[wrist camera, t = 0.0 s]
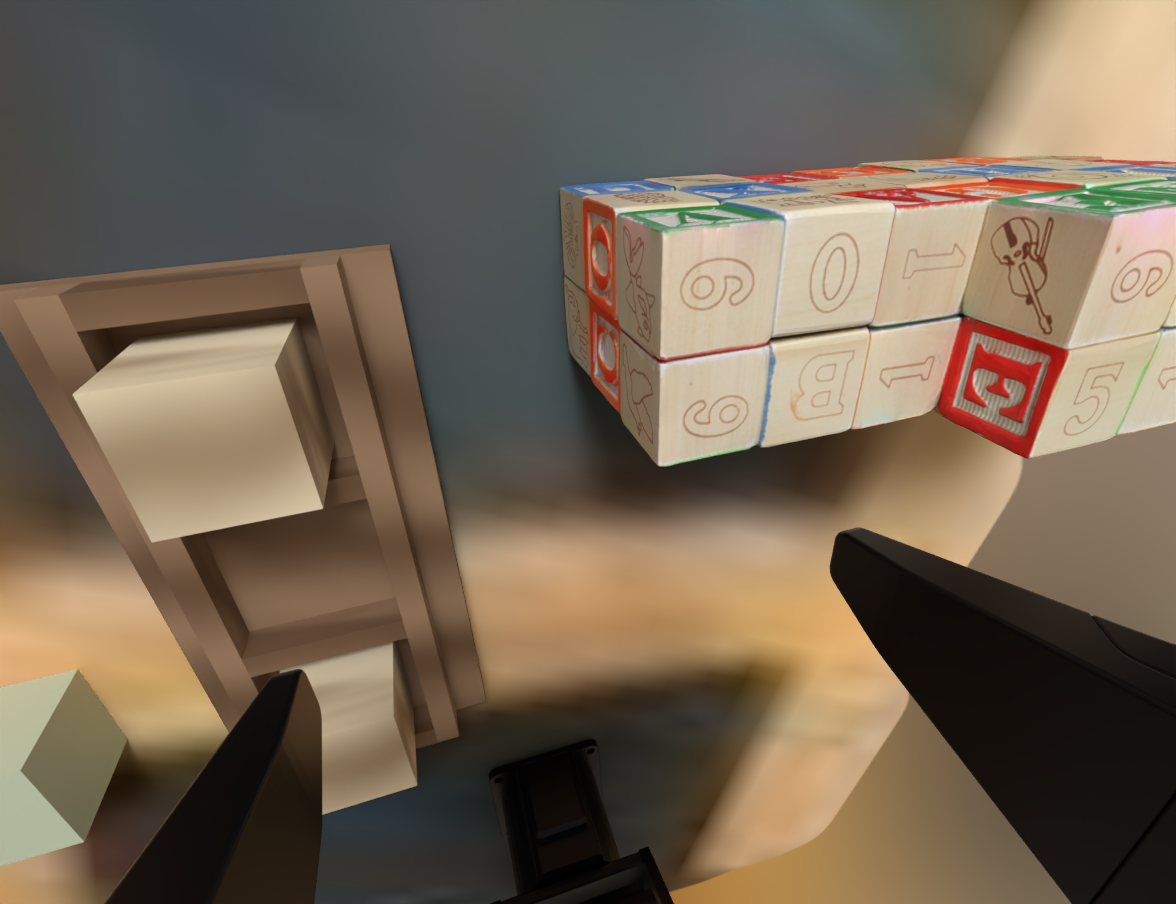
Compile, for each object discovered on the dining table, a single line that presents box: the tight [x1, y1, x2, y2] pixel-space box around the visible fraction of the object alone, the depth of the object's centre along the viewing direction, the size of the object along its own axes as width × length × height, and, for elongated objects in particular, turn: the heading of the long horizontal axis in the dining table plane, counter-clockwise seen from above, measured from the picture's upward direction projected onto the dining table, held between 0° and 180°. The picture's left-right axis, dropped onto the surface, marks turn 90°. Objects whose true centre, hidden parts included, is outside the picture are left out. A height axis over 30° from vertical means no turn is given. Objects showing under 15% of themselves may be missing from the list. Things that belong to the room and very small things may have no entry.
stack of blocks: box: [560, 156, 1176, 466], centre depth 19 cm, size 21×6×12 cm, turn 92°
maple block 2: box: [280, 641, 417, 815], centre depth 25 cm, size 4×4×4 cm
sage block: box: [0, 669, 127, 866], centre depth 22 cm, size 4×4×4 cm
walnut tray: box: [0, 244, 486, 749], centre depth 23 cm, size 22×11×2 cm, turn 3°
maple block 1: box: [72, 317, 335, 542], centre depth 18 cm, size 4×4×4 cm
